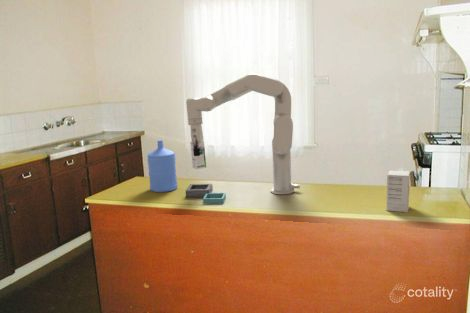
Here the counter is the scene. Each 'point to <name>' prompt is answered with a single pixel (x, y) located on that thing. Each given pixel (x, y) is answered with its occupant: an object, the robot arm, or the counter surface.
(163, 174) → the water jug
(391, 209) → the supplement box
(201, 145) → the syrup box
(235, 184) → the counter surface
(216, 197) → the teal square tray
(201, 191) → the grey square tray
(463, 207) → the counter surface
